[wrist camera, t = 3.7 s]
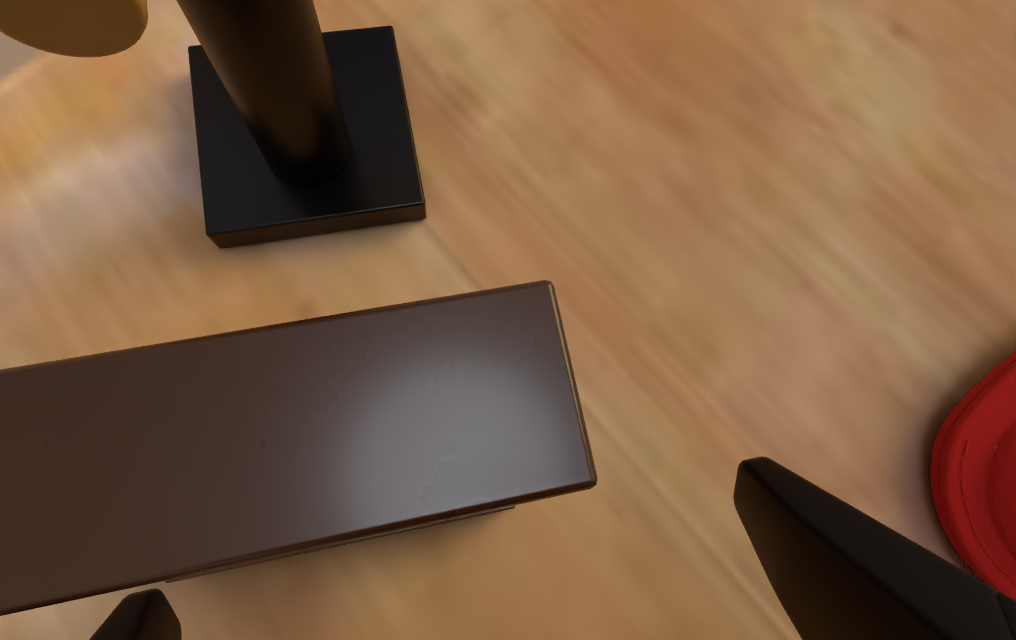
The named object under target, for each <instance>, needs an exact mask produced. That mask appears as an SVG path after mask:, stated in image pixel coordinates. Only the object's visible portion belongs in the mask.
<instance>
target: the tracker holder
mask: <svg viewBox="0 0 1016 640" xmlns="http://www.w3.org/2000/svg"><path fill="white" fill-rule="evenodd" d="M930 478H931V488H932V495H933V499H934V504H935V509H936V511H937V514H938V517H939V520H940V522H941V525H942V527H943V529H944V531H945V533H946V535H947V537H948V539H949V540H950V542H951V543H952V545H953V546H954V548H955V549H956V551H957V552H958V554H959V555H960V556H961V558H962V559H963V561H964V562H965V563H966V564H967V565H968V566H969V567H970V568H971V569H972V570H973V571H974V572H975V574H976V575H977V576H978V577H979V578H981V579H982V580H983V581H984V582H985V583H987V584H988V585H989V586H991V587H993V589H994V590H995V591H996V592H997V591H999V592H1002V593H1003V594H1005V595H1007V596H1009V597H1010V598H1012V599H1014V600H1016V352H1014V353H1013V354H1011V355H1010V356H1009V357H1007V358H1006V359H1005V360H1003V361H1002V362H1001V363H1000V364H998V365H997V366H996V367H994V368H993V369H992V370H991V371H990V372H989V373H988V374H987V375H986V376H985V377H984V378H983V379H982V380H981V381H980V382H979V383H978V384H976V385H975V386H974V387H973V388H972V389H971V390H970V391H969V392H968V393H967V394H966V395H965V396H964V397H963V399H962V400H961V401H960V402H959V403H958V404H957V405H956V407H955V408H954V409H953V410H952V411H951V413H950V414H949V415H948V417H947V418H946V420H945V421H944V423H943V424H942V426H941V428H940V430H939V432H938V435H937V437H936V439H935V442H934V447H933V451H932V457H931V470H930Z"/></svg>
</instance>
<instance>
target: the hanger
mask: <svg viewBox="0 0 1016 640" xmlns="http://www.w3.org/2000/svg"><path fill="white" fill-rule="evenodd" d="M596 483H597V474H596V470H595V465H594V461H593V456H592V452H591V448H590V443H589V439H588V434H587V430H586V425H585V421H584V417H583V412H582V408H581V403H580V399H579V395H578V390H577V386H576V381H575V377H574V372H573V368H572V364H571V359H570V355H569V350H568V346H567V342H566V337H565V333H564V328H563V324H562V319H561V315H560V311H559V306H558V302H557V297H556V293H555V289H554V286H553V284H552V283H551V281H546V280H542V281H536V282H530V283H524V284H518V285H512V286H506V287H500V288H494V289H488V290H482V291H476V292H469V293H463V294H457V295H451V296H445V297H439V298H433V299H427V300H421V301H415V302H409V303H403V304H397V305H390V306H384V307H378V308H372V309H366V310H360V311H354V312H348V313H342V314H336V315H330V316H324V317H317V318H311V319H305V320H299V321H293V322H287V323H281V324H275V325H269V326H263V327H257V328H251V329H245V330H238V331H232V332H226V333H220V334H214V335H208V336H202V337H196V338H190V339H184V340H178V341H172V342H165V343H159V344H153V345H147V346H141V347H135V348H129V349H123V350H117V351H111V352H105V353H99V354H92V355H86V356H80V357H74V358H68V359H62V360H56V361H50V362H44V363H38V364H32V365H26V366H20V367H13V368H7V369H1V370H0V616H2V615H7V614H11V613H16V612H21V611H25V610H30V609H35V608H39V607H44V606H49V605H53V604H58V603H63V602H67V601H72V600H76V599H81V598H86V597H90V596H95V595H100V594H104V593H109V592H114V591H118V590H123V589H128V588H132V587H137V586H142V585H146V584H151V583H155V582H160V581H165V582H166V583H170V582H175V581H179V580H184V579H189V578H193V577H198V576H202V575H207V574H212V573H216V572H221V571H226V570H230V569H235V568H239V567H244V566H249V565H253V564H258V563H263V562H267V561H272V560H277V559H281V558H286V557H290V556H295V555H300V554H304V553H309V552H314V551H318V550H323V549H327V548H332V547H337V546H341V545H346V544H351V543H355V542H360V541H364V540H369V539H374V538H378V537H383V536H388V535H392V534H397V533H402V532H406V531H411V530H415V529H420V528H425V527H429V526H434V525H439V524H443V523H448V522H452V521H457V520H462V519H466V518H471V517H476V516H480V515H485V514H489V513H494V512H499V511H503V510H508V509H513V508H515V505H518V504H522V503H527V502H532V501H536V500H541V499H546V498H550V497H555V496H559V495H564V494H569V493H573V492H578V491H583V490H587V489H591V488H592V487H594V486H595V485H596Z"/></svg>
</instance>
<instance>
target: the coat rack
mask: <svg viewBox="0 0 1016 640" xmlns="http://www.w3.org/2000/svg"><path fill="white" fill-rule="evenodd" d="M177 2H178V4H179V6H180V7H181V9H182V11H183V13H184V15H185V16H186V18H187V20H188V22H189V24H190V25H191V27H192V29H193V31H194V33H195V34H196V36H197V38H198V40H199V42H200V43H201V45H197V46H189V47H188V54H189V64H190V75H191V85H192V95H193V105H194V115H195V126H196V136H197V146H198V156H199V167H200V177H201V187H202V197H203V207H204V218H205V228H206V234H207V236H208V237H209V238H210V239H211V240H212V241H213V242H214V243H215V244H216V245H217V246H218V247H219V248H221V249H222V248H229V247H236V246H242V245H249V244H256V243H263V242H270V241H276V240H283V239H290V238H297V237H304V236H311V235H317V234H324V233H331V232H338V231H345V230H351V229H358V228H365V227H372V226H379V225H386V224H392V223H399V222H406V221H413V220H420V219H425V218H426V207H425V198H424V193H423V188H422V182H421V177H420V171H419V166H418V160H417V155H416V149H415V144H414V139H413V133H412V128H411V122H410V117H409V111H408V106H407V101H406V95H405V90H404V84H403V79H402V73H401V68H400V62H399V57H398V52H397V46H396V41H395V35H394V30H393V27H392V26H382V27H372V28H363V29H353V30H343V31H333V32H324V33H322V32H321V29H320V25H319V21H318V18H317V14H316V10H315V7H314V3H313V0H177ZM147 21H148V12H147V0H0V31H1V32H3V33H4V34H5V35H7V36H9V37H11V38H13V39H15V40H17V41H19V42H21V43H23V44H26V45H28V46H31V47H34V48H36V49H39V50H43V51H46V52H50V53H55V54H59V55H66V56H74V57H101V56H107V55H112V54H116V53H119V52H121V51H124V50H126V49H128V48H130V47H131V46H133V45H134V44H135V43H136V42H137V41H138V40H139V39H140V37H141V36H142V34H143V32H144V30H145V29H146V26H147Z"/></svg>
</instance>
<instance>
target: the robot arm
mask: <svg viewBox="0 0 1016 640" xmlns="http://www.w3.org/2000/svg"><path fill="white" fill-rule="evenodd" d="M734 504H735V507H736V510H737V512H738V515H739V517H740V519H741V521H742V523H743V525H744V528H745V530H746V532H747V534H748V536H749V538H750V540H751V543H752V545H753V547H754V549H755V551H756V553H757V555H758V558H759V560H760V562H761V564H762V566H763V568H764V571H765V573H766V575H767V577H768V579H769V581H770V583H771V585H772V587H773V589H774V591H775V593H776V595H777V597H778V599H779V601H780V602H781V604H782V606H783V608H784V610H785V611H786V613H787V615H788V616H789V618H790V620H791V621H792V623H793V625H794V626H795V628H796V630H797V631H798V633H799V635H800V636H801V638H802V640H1016V600H1014V599H1012V598H1010V597H1009V596H1007V595H1005V594H1003V593H1002V592H999V591H997V592H995V590H994V589H993V587H991V586H989V585H988V584H986V583H984V582H982V581H981V580H979V579H977V578H975V577H974V576H972V575H970V574H968V573H967V572H965V571H963V570H962V569H960V568H958V567H956V566H955V565H953V564H951V563H949V562H948V561H946V560H944V559H943V558H941V557H939V556H937V555H936V554H934V553H932V552H930V551H929V550H927V549H925V548H923V547H922V546H920V545H918V544H917V543H915V542H913V541H911V540H910V539H908V538H906V537H904V536H903V535H901V534H899V533H898V532H896V531H894V530H892V529H891V528H889V527H887V526H885V525H884V524H882V523H880V522H878V521H877V520H875V519H873V518H872V517H870V516H868V515H866V514H865V513H863V512H861V511H859V510H858V509H856V508H854V507H853V506H851V505H849V504H847V503H846V502H844V501H842V500H840V499H839V498H837V497H835V496H834V495H832V494H830V493H828V492H827V491H825V490H823V489H821V488H820V487H818V486H816V485H814V484H813V483H811V482H809V481H808V480H806V479H804V478H802V477H801V476H799V475H797V474H795V473H794V472H792V471H790V470H789V469H787V468H785V467H783V466H782V465H780V464H778V463H776V462H775V461H773V460H771V459H769V458H767V457H756V458H752V459H747V460H743V461H741V463H740V464H739V466H738V471H737V477H736V483H735V489H734ZM181 636H182V635H181V626H180V622H179V620H178V618H177V616H176V614H175V613H174V611H173V609H172V607H171V606H170V604H169V602H168V601H167V599H166V597H165V595H164V594H163V592H162V591H161V590H159V589H150V590H145V591H140V592H136V593H132V594H129V595H128V596H126V597H125V598H124V599H123V600H122V601H121V602H120V603H119V605H118V606H117V607H116V608H115V609H114V611H113V612H112V613H111V614H110V615H109V617H108V618H107V619H106V620H105V621H104V623H103V624H102V625H101V626H100V627H99V629H98V630H97V631H96V632H95V634H94V635H93V636H92V637H91V638H90V640H181Z"/></svg>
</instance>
